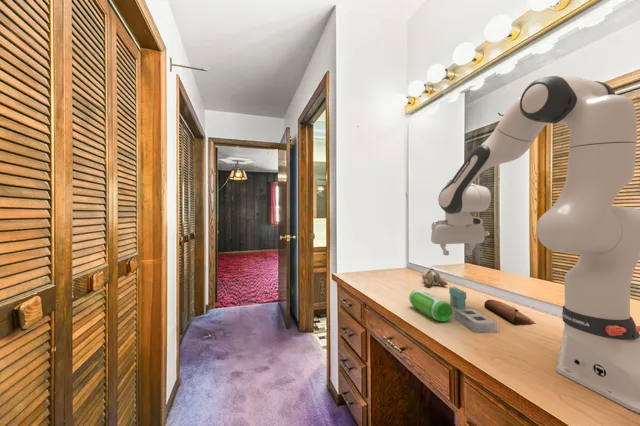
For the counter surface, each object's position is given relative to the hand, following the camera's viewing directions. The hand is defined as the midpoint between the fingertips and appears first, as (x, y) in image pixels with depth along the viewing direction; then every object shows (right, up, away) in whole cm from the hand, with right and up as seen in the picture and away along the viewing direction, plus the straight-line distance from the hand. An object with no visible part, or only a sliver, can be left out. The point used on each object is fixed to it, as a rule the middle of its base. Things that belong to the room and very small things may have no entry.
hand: (457, 254), depth 112 cm
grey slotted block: (-2, -21, -17) cm, 27 cm away
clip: (0, -21, 0) cm, 21 cm away
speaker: (-14, -22, -6) cm, 26 cm away
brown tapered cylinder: (+14, -21, -9) cm, 27 cm away
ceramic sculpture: (+4, -21, +35) cm, 41 cm away
